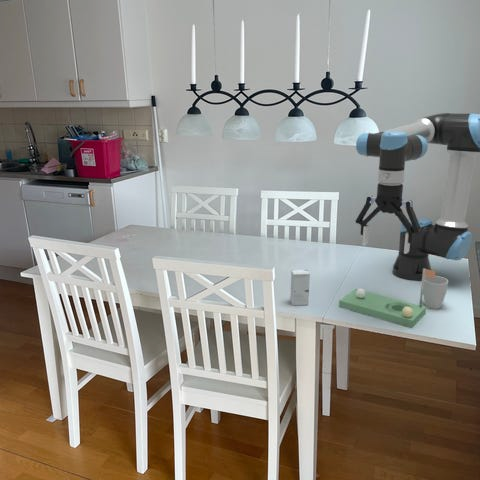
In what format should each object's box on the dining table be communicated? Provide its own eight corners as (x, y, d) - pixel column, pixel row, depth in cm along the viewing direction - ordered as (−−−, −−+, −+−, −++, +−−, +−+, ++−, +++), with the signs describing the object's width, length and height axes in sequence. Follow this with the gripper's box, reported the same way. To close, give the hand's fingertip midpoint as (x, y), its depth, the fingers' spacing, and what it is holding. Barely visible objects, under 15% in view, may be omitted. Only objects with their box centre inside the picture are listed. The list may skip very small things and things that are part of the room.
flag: (419, 306, 166) (423, 268, 161) (431, 309, 163) (435, 270, 159) (418, 307, 165) (422, 268, 161) (430, 310, 163) (435, 271, 158)
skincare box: (292, 305, 173) (292, 274, 170) (289, 300, 177) (290, 269, 174) (309, 305, 174) (310, 273, 170) (306, 299, 178) (307, 269, 174)
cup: (439, 300, 176) (442, 275, 173) (449, 310, 168) (452, 283, 165) (416, 301, 175) (419, 275, 172) (425, 311, 168) (428, 284, 165)
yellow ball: (403, 313, 161) (404, 303, 160) (414, 315, 159) (415, 306, 158) (400, 316, 158) (401, 307, 157) (410, 319, 156) (411, 310, 155)
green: (339, 306, 172) (339, 300, 171) (355, 294, 182) (355, 288, 181) (411, 327, 156) (412, 320, 156) (425, 313, 166) (426, 306, 165)
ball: (358, 295, 175) (358, 286, 174) (367, 297, 173) (367, 288, 172) (354, 298, 173) (354, 289, 172) (362, 300, 171) (363, 291, 170)
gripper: (347, 181, 153) (344, 244, 160) (428, 189, 139) (421, 259, 145) (357, 177, 159) (353, 239, 165) (435, 185, 145) (428, 252, 151)
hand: (385, 248), depth 155 cm, fingers open, 13 cm apart
